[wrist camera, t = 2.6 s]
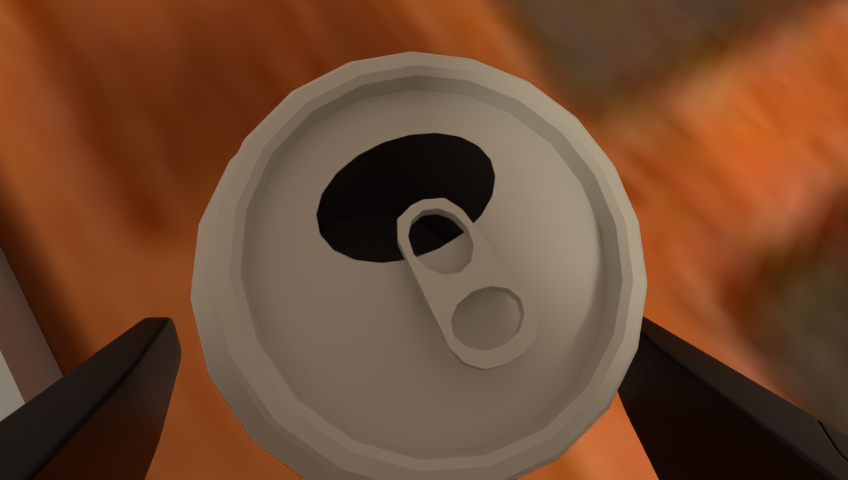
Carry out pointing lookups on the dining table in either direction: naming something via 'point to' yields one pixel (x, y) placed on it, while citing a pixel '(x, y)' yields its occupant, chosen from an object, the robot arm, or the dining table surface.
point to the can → (418, 275)
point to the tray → (21, 347)
